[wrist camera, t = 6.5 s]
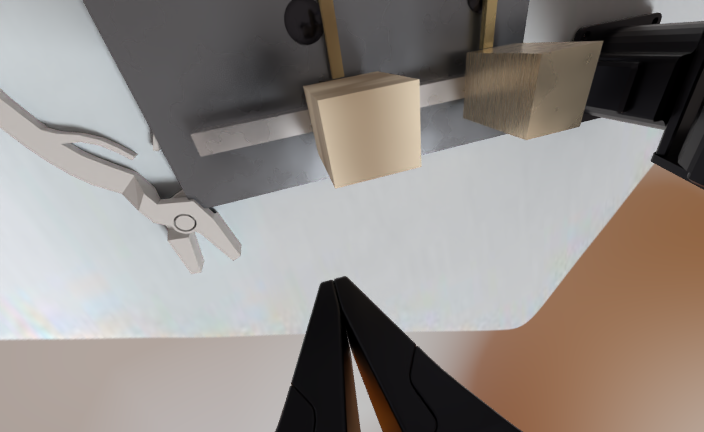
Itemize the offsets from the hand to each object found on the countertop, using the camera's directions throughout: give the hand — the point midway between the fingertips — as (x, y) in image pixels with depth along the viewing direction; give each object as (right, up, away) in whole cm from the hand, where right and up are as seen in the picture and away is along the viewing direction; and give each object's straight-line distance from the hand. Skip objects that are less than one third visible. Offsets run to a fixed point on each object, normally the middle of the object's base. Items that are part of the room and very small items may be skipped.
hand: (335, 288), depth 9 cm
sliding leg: (0, +10, +6) cm, 12 cm away
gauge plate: (0, +11, +8) cm, 13 cm away
